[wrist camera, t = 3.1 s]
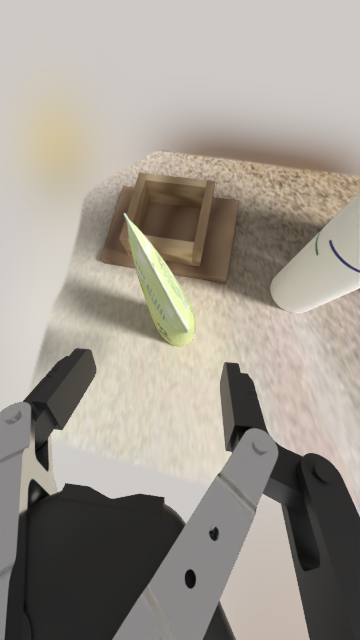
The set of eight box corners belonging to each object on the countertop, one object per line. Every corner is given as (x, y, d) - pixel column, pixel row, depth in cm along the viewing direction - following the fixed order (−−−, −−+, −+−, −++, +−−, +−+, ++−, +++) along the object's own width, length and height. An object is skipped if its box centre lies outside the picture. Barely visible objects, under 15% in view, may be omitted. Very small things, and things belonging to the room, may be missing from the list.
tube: (153, 338, 29) (81, 291, 9) (166, 307, 29) (123, 209, 10) (188, 352, 28) (187, 331, 9) (200, 320, 29) (222, 239, 10)
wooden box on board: (237, 207, 33) (246, 177, 27) (224, 282, 30) (232, 265, 24) (125, 193, 34) (114, 162, 29) (104, 263, 32) (87, 242, 26)
